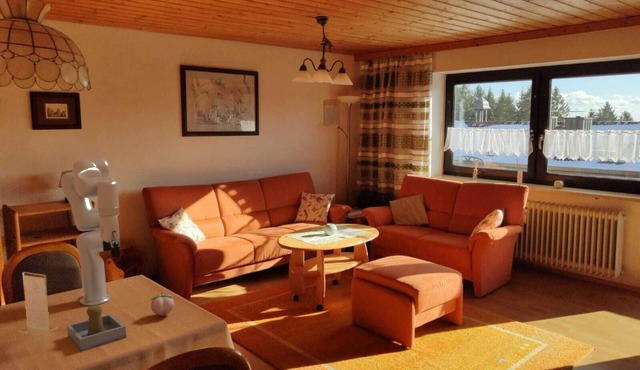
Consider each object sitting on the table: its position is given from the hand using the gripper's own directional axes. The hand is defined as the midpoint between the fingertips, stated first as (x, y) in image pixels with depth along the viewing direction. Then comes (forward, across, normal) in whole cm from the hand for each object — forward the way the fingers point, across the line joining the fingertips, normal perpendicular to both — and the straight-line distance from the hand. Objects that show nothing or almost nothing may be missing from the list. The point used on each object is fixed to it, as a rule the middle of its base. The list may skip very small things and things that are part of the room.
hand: (111, 253), depth 199 cm
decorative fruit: (+28, +8, +17) cm, 34 cm away
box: (+28, +11, -10) cm, 32 cm away
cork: (+27, +10, -10) cm, 31 cm away
